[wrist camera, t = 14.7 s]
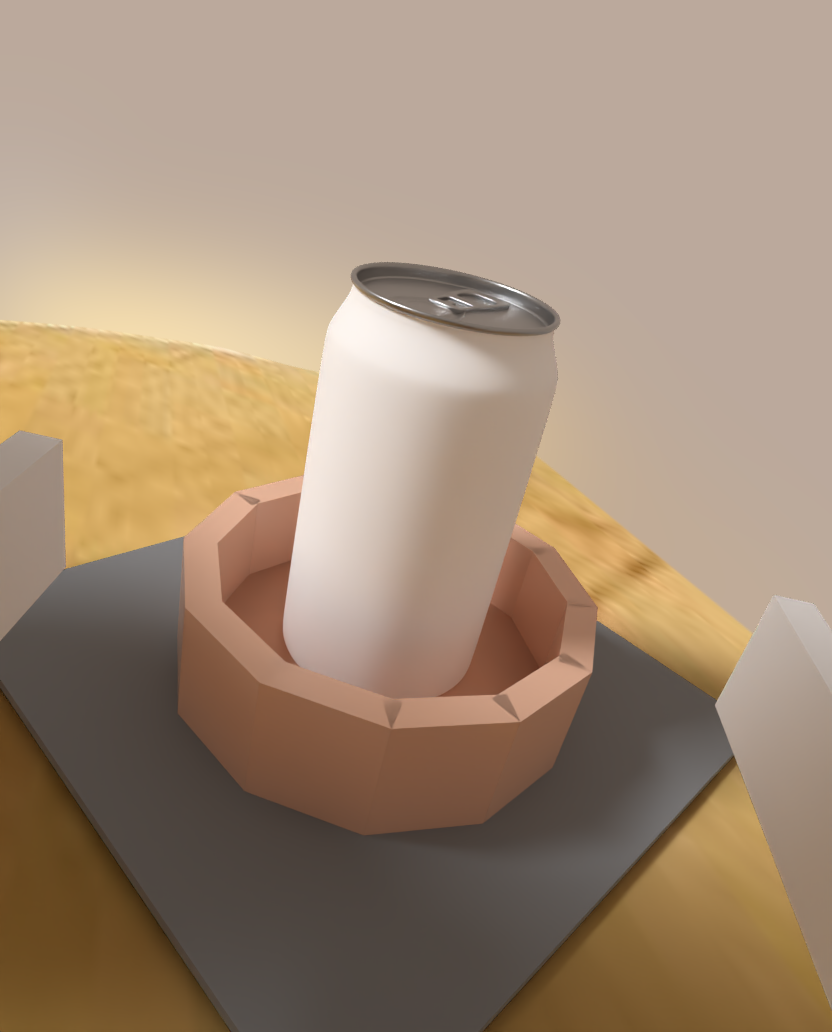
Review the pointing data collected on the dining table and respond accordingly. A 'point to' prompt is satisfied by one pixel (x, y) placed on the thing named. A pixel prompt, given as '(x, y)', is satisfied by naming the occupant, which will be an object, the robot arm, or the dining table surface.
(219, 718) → the bowl
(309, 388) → the dining table surface
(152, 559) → the mat
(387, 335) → the can
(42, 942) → the dining table surface
